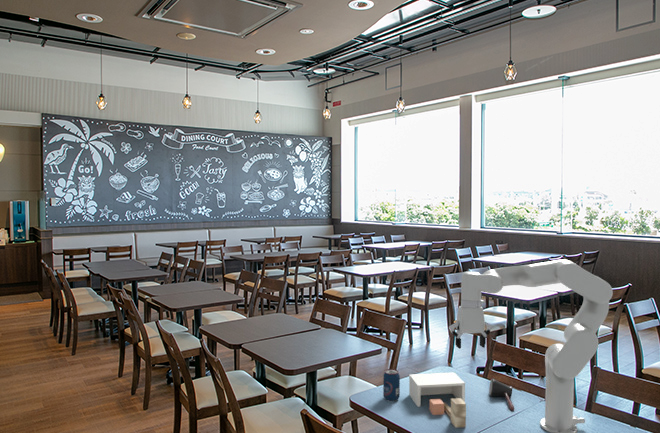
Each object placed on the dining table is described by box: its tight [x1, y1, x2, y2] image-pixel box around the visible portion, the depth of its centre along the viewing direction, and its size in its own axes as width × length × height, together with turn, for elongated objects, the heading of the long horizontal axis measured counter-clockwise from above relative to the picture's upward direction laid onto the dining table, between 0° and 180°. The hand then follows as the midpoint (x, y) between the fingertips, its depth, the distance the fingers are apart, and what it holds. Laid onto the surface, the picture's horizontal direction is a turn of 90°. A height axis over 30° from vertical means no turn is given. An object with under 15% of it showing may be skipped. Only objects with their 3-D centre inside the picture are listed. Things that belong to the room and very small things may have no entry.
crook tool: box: [443, 397, 467, 428], centre depth 190 cm, size 7×17×9 cm, turn 7°
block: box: [429, 398, 445, 416], centre depth 194 cm, size 4×4×4 cm
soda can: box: [382, 368, 401, 402], centre depth 206 cm, size 7×7×12 cm
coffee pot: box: [488, 378, 515, 412], centre depth 205 cm, size 8×18×8 cm
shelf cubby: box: [408, 371, 466, 408], centre depth 206 cm, size 20×12×9 cm, turn 97°
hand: (470, 347), depth 188 cm, fingers open, 9 cm apart
